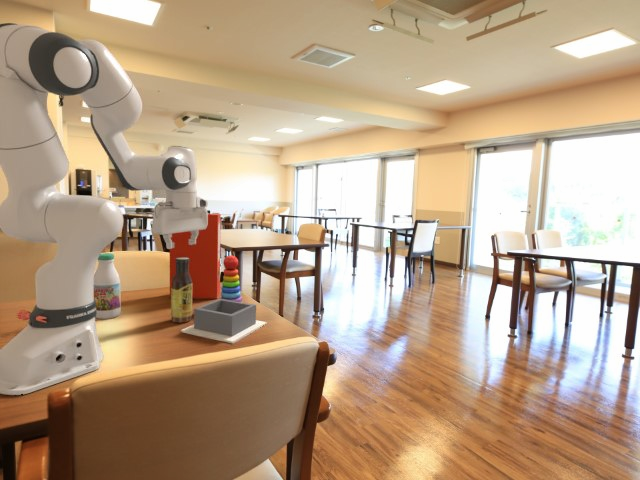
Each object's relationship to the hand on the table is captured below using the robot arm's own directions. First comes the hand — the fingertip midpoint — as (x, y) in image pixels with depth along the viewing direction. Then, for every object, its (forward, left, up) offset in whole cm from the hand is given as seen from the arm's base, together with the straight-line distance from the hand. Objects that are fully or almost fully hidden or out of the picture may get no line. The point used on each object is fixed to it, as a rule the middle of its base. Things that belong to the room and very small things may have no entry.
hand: (181, 246), depth 119 cm
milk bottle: (-8, +23, -24) cm, 34 cm away
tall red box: (+24, +15, -24) cm, 37 cm away
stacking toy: (+19, -5, -24) cm, 31 cm away
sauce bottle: (0, 0, -24) cm, 24 cm away
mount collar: (+1, -16, -24) cm, 29 cm away
